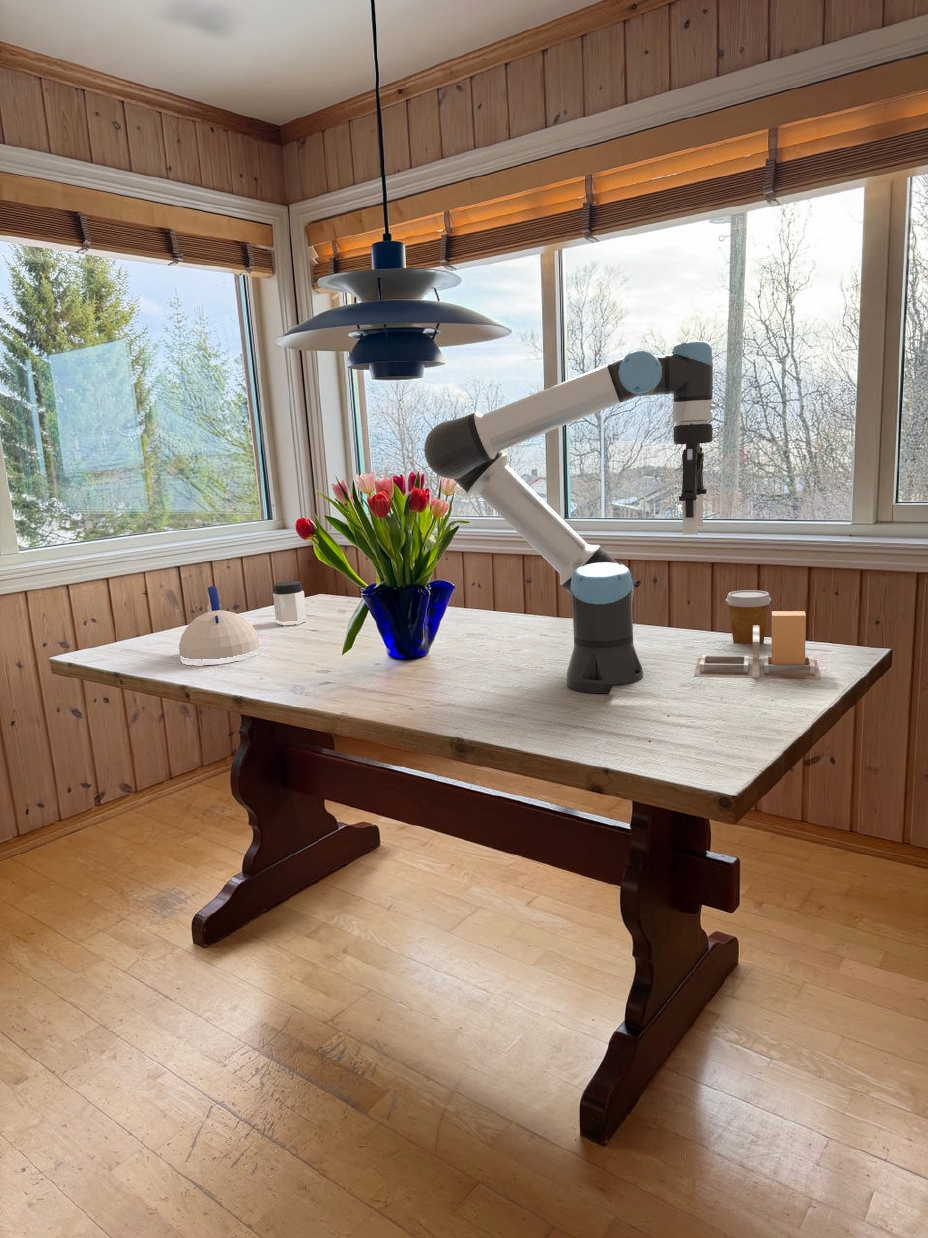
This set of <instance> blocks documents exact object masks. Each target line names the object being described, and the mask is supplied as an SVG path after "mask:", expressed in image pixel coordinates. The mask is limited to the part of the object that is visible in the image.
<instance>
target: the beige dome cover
mask: <svg viewBox="0 0 928 1238" xmlns="http://www.w3.org/2000/svg"><path fill="white" fill-rule="evenodd" d="M217 588H218V587H216V586H215V585H214V586H209V587H207V599H208V605H207V606H206V609H207V612H204V613H203V614H200V615H199V616H197V617H195V618H194V619H193V620H192V621H191V622H190V623H189V624H188V625H187V626H186V628H185V630H184V631H183V632H182V634H181V637H180V641H179V643H178V644H179V645H178V647H179V648H178V650H179V657H180V656H182V657H184V658H189V659H201V660H202V659H220V658H227V657H233V656H237V655H242V654H246V653H249V652H252V651H254V650H257V649H259V648H261V644H260V639H259V634H258V633H257V631H256V630H255V628H254V626H253V625H252V624H251V623H250V622H249V621H248V620H247V619H246V618H244V616H241V615H239V614H237V613H236V612H232V611H228V610H221V604H220V600H219V593H218V589H217Z"/></svg>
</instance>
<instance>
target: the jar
mask: <svg viewBox="0 0 928 1238" xmlns="http://www.w3.org/2000/svg"><path fill="white" fill-rule="evenodd" d="M272 586H273V593H272V597H273V604H274V615H275V621H276V620H279V621H282V622H283V621H297V620H300V619H306V618H307V619H308V617H307V616H308V615H307V609H306V608H307V607H306V600H305V597H306V596H305V591H304V590H303V584H302V581H301V580H300V581H299V580H289V581H280V582H277V583H274V584H273V585H272Z"/></svg>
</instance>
